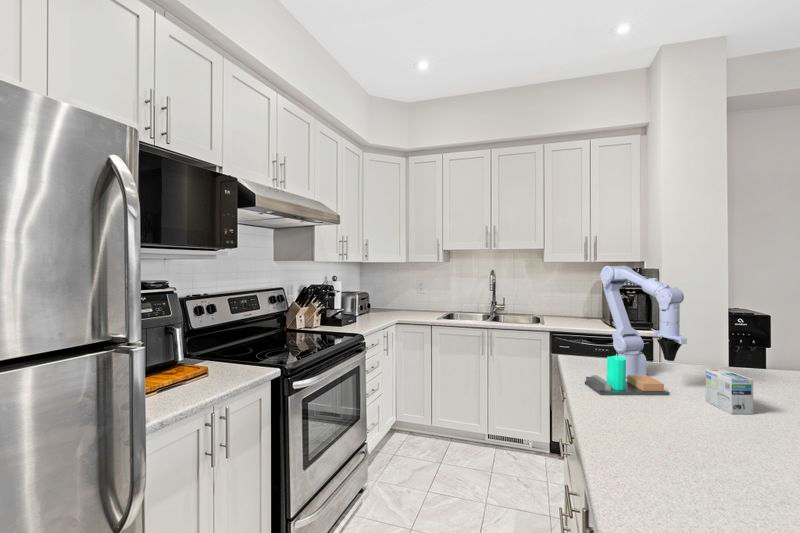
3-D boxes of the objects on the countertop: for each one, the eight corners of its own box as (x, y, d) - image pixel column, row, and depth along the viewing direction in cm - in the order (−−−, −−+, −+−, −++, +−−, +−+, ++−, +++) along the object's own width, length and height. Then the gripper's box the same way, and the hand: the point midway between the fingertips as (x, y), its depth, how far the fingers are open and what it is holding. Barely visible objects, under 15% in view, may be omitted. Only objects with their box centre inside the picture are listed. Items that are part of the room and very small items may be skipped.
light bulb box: (754, 414, 117) (754, 378, 117) (731, 414, 117) (731, 378, 117) (725, 401, 128) (725, 368, 127) (704, 401, 128) (704, 368, 127)
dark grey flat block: (647, 383, 146) (647, 374, 145) (668, 395, 134) (668, 385, 133) (584, 383, 146) (584, 374, 146) (600, 395, 134) (600, 385, 134)
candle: (623, 385, 141) (623, 352, 141) (628, 390, 135) (628, 356, 135) (605, 383, 143) (605, 350, 143) (608, 389, 137) (608, 354, 137)
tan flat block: (646, 381, 145) (646, 375, 144) (664, 391, 135) (664, 383, 134) (627, 381, 145) (627, 375, 145) (643, 391, 135) (643, 383, 135)
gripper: (645, 318, 146) (645, 355, 147) (671, 325, 132) (671, 365, 132) (665, 318, 146) (664, 355, 146) (693, 325, 132) (692, 365, 132)
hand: (669, 360), depth 139 cm, fingers closed
